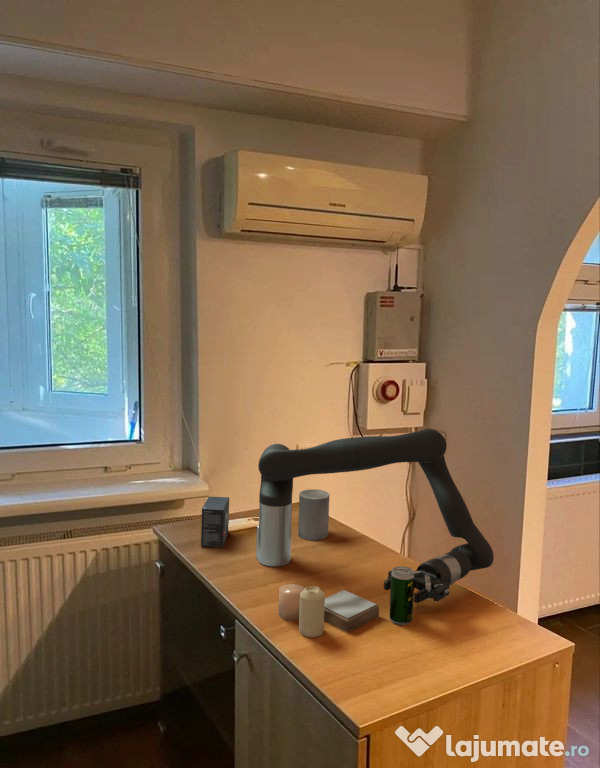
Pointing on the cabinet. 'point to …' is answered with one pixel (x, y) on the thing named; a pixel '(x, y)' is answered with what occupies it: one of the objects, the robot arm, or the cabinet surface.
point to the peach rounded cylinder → (289, 601)
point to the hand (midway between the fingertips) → (399, 592)
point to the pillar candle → (313, 514)
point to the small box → (215, 522)
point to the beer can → (401, 595)
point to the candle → (311, 612)
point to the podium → (349, 610)
